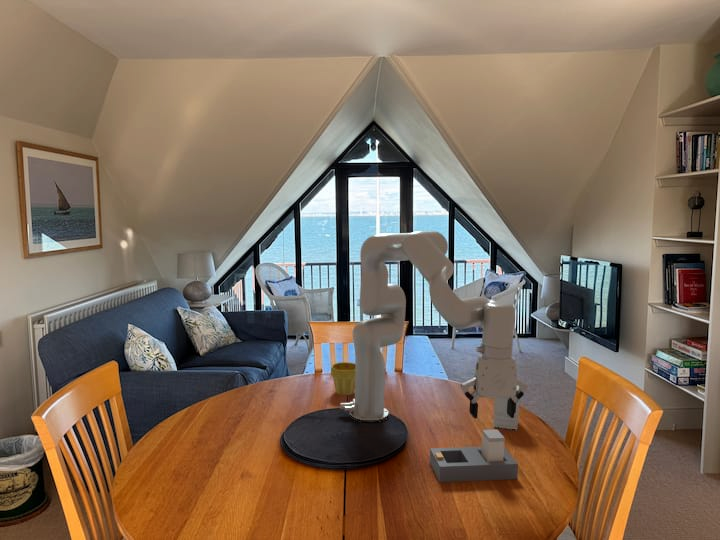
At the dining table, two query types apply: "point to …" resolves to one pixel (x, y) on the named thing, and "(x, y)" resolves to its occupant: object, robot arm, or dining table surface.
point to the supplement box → (505, 414)
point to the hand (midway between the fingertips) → (492, 416)
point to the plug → (492, 445)
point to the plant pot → (344, 377)
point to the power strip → (470, 465)
